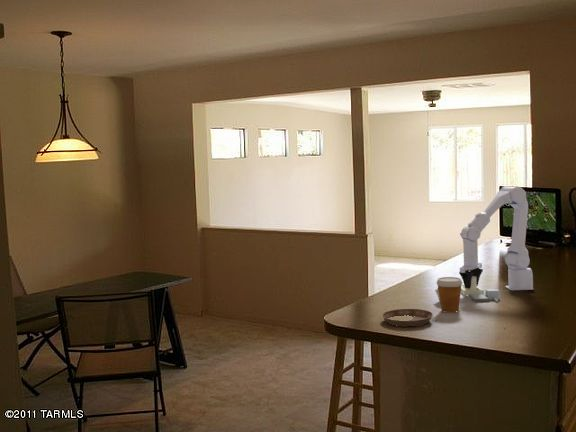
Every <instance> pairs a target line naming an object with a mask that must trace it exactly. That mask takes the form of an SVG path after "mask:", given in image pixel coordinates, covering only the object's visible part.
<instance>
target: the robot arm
mask: <svg viewBox="0 0 576 432" xmlns="http://www.w3.org/2000/svg"><path fill="white" fill-rule="evenodd" d="M506 204H508V205H510V206H511V207H512V208H513V220H512V232H511V243H510V245H509V247H507V248H506V249H507V250H506V254H505V256H504V262H505V265H507V267H508V268H507V272H508V275H507V276H508V278H507V279H508V280H507V282H508V285H505V288H507V290H510V291H528V290H529V291H530V290H534V275H533V270H532V268H531V267H529V265H530V260H531V259H530V256H529V250H528V249H527V247H526V235H527V224H528V215H529V203H528V200H527V191H525V189H524V188H523V187H520V186H508V185H505V186H502V187H501V188H500V189H499V190H498V191H497V192H496V196H494V198H493V199H492V201H491V202H490V203H489V205H488V206H487V207H486V208H485V210H483V212H478V213H476V214H475V215H474V218H473V219H472V220H471V221H470V222H469V223H468V224H467V226H464V227H463V228H462V229H461V232H460V233H459V235H460V238H461V239H462V245H463V246H462V247H463V265H462V266H461V267H459V275H460V277H461V280H462V282H463V285H464V286H465V288H468V289H470V287H471V279H472V276H476V281H477V286H479V282H480V277H481V275H482V273H483V271H484V269H483V263H482V262H479V255H478V254H479V252H478V251H479V250H478V240H479V239H480V238H481V233H482V231H484V230H485V228H486V227H487V225H489V223H490V222H491V217H492V216H493V215H494V214H495V213H496V212H497V211H498V210H499V209H500V208H502V206H503V205H506Z"/></svg>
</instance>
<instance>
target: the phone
mask: <svg viewBox="0 0 576 432" xmlns="http://www.w3.org/2000/svg"><path fill="white" fill-rule="evenodd" d="M468 298H469V299H470V300H471V301H472V302H473V301H474V302H473V303H489V302H490V299H489V298H488V297H487V296H486V294H485V293H484V294H468Z"/></svg>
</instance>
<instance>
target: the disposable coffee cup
mask: <svg viewBox="0 0 576 432" xmlns="http://www.w3.org/2000/svg"><path fill="white" fill-rule="evenodd" d="M435 283H436V285H437V289H438V290H439V297H440V302H439V303H440V309H441V312H443V311H447V312H446V313H457V312H456V311H458V312H460V303H461V294H462V293H461V285H463V284H464V282H463V280H462V278H460V277H455V276H445V277H444V276H443V277H438V278H437V280H436V282H435Z"/></svg>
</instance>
